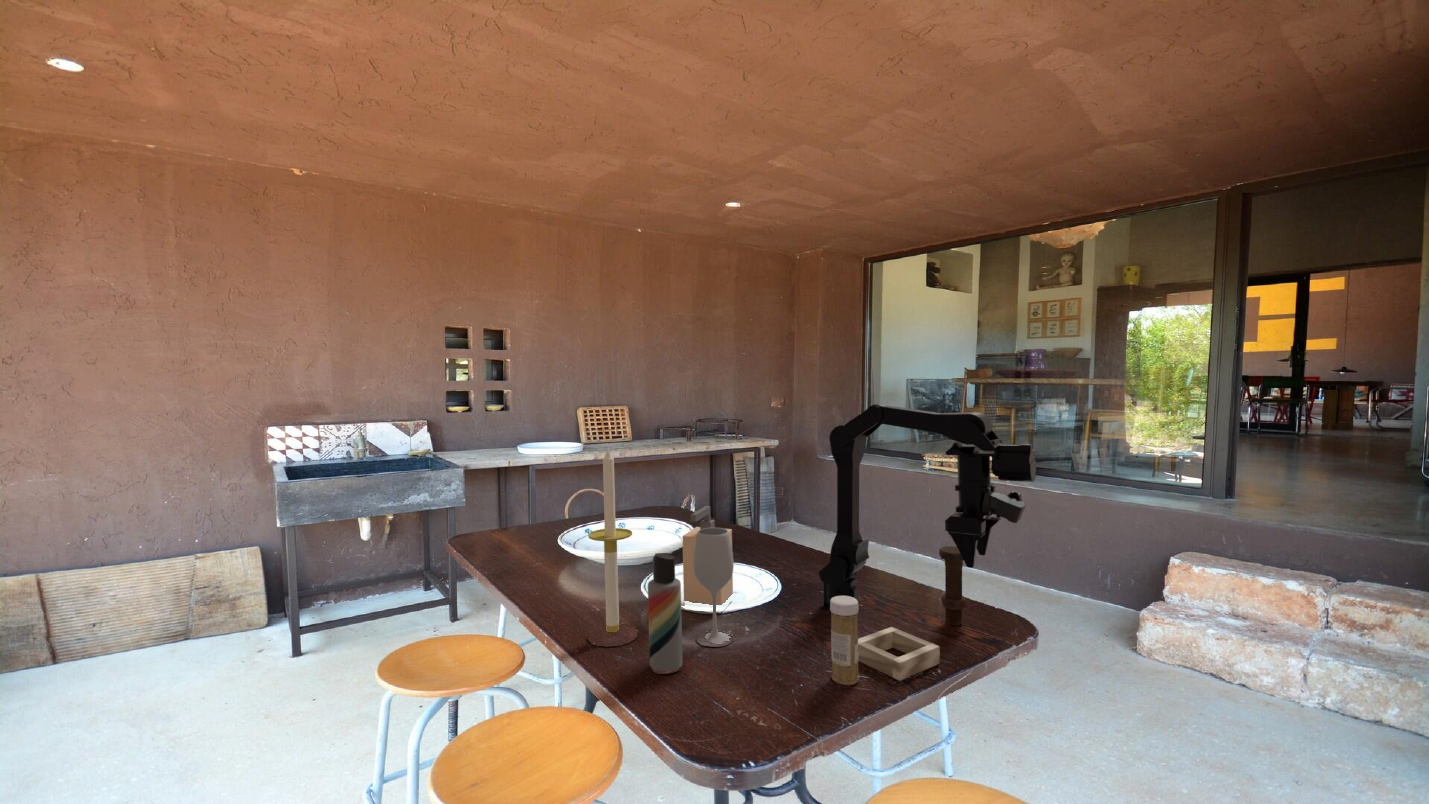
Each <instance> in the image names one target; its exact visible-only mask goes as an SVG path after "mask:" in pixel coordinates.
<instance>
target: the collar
mask: <svg viewBox="0 0 1429 804" xmlns="http://www.w3.org/2000/svg"><path fill="white" fill-rule="evenodd" d="M892 648H893V649H894V650H895V649H896V650H897V651H900V652H902V653H904V654H903V655H901V656H896V655H894V654H893V653H890V652H888V651H887V650H889V649H892ZM940 648H941V647H940V645H938V644H935V643H933V642H930V641H927V640H925V639H922V638H921V637H917V636H914V635H913V634H911V633H908V632H905V631H903V630H900V629H898V628H896V627H893V626H890V627H887V628H884V629H881V630H880V631H876V632H873V633H870V634H868V635H865V636H862V637H860V638H859V637H858V662H860V663H863V664H864V665H867V666H869V667H870V668H873V669H875V670H877V671H878V672H881V673H883V674H885V675H886V676H888V677H891V678H893V679H895V680H897V681H899V682H900V681H903V680H906V679H907V678H910V677H912V676H914V675H917V674H919V673H922V672H923V671H926V670H927V669H930V668H932V667H935V666H937V665H939V664H940V660H941V658H940V657H941V655H940V652H941V649H940Z"/></svg>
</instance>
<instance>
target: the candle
mask: <svg viewBox="0 0 1429 804" xmlns="http://www.w3.org/2000/svg"><path fill="white" fill-rule="evenodd" d="M602 474H603V475H602V479H603V483H602V484H603V509H604V510H603V511H604V512H603V514H604V515H603V517H604V518H603V519H604V521H603V522H604V528H601V529H596V530H593V531H590V532H589V533H588V535H587V536H588V539H590V540H592V541H595V542H596V541H597V542H603V552H604V553H603V554H604V556H603V557H604V560H603V561H604V595H605V626H606V631H607V632H617V631H618V630H619V625H620V613H619V612H620V611H619V609H620V608H619V607H620V606H619V605H620V604H619V575H618V574H619V572H618V568H619V567H618V564H619V563H618V541H621V540H625V539H628V538H630V537H631V536H632V535H633V532H632V530H631V529H628V528H627V529H626V528H622V527H619V528H618V527H616V526H617V525H616V497H615V496H616V494H615V492H616V491H615V490H616V489H615V485H616V484H615V459H614V457H613V456H612V454H611V451H610V448H606V453H605V455H604V457H603V458H602Z"/></svg>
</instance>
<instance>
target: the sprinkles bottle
mask: <svg viewBox="0 0 1429 804" xmlns="http://www.w3.org/2000/svg"><path fill="white" fill-rule="evenodd" d="M858 602H859V600H858V601H857V599H855V598H853V597H850V596H836V597H833V598H831V600H830V610H829V611H830V614H831V616H830V618H831V619H830V623H831V624H830V626H831V629H830V638H831V639H830V645H831V647H830V649H831V652H830V653H831V655H830V656H831V670H832V671H831V679H832V680H833V682H835V683H836V684H838V685H844V686H851V685H855V684H857V683H859V681H860V675H859V661H858V639H859V635H858V615H859V605H858Z"/></svg>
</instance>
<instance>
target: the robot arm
mask: <svg viewBox="0 0 1429 804" xmlns="http://www.w3.org/2000/svg"><path fill="white" fill-rule="evenodd" d="M882 425H886V426H893V427H899V428H905V429H910V430H911V429H912V430H916V431H917V430H918V431H923V432H930V433H935V434H938V435H940V436H943V437H945V438H946V439H949V440H951V441H955V442H954V443H953V444H952V445H951V446H950V448H948V450H946V451H945V455H946V456H956V457H957V458H956V459H957V461H956V463H957V484H955V485H954V489H955V492H957V493H958V505H957V506H955V512H954V513H952V514H951V515H949V517H947V519H945V520H944V527H945V532H947V533H948V535H950V537H951V539H952V540H953V542H954V544H955V547H957V548H958V550H959V552H960V554H961V556H962V558H963V563H964V564H965V565H966V566H965V567H967V568H972V569H973V568H974V566H975V560H976V555H977V553H978V555H980V556H985V555H986V554H987V549H988V546H989V541H990V537H991V531H992V528H993V527H994V526H995V525H996V524H997V523H999V522H1000V520H1001V518H1003V519H1005V520H1007V522H1010V523H1012V524H1017V523H1018V522H1019V521H1020V520H1021V518H1022V516H1023V512H1024V510H1025V509H1026V505H1027V504H1026V501H1023V499H1022V494H1021V493H1020V492H1018V491H1016V490H1012V491H1011V492H1010V493H1008V494H1007V495H1006V494H1005V493H999V492H998V491H996V486H995V484H994V483H993V482H991V479H992V478H991V477H992V476H991V472H992V475H994V477H997V479H998V480H999V481H1003V482H1004V481H1007V482H1025V483H1034V482H1035V481H1036V480H1035V479H1036V474H1037V461H1036V460H1035V453H1034V450H1033V444H1032V443H1022V444H1005V443H1004V442H1003V441H1002V440H1001V438H1000V437H999V436H998V435H997V434H996V433H995V431H994V430H993V428H992V427H993V426H992V422H991V419H990V418H989V417H988V416H987V415H986V414H985V413H982V412H978V411H973V412H972V411H971V412H970V411H968V412H966V411H965V412H961V411H960V412H946V413H945V412H942V413H941V412H935V411H928V410H923V409H922V410H921V409H915V408H908V407H907V408H906V407H900V406H893V405H888V404H885V403H877V404H876V403H875V404H874V403H873V404H872V405H869V407H867V408H866V409H865V410H863V412H861V413H860V414H858V415H857V416H855V417H854V418H852V419H851V420H849V421H848V422H846V423H845V424H840V425H837V426H835V427H834V428H833V429H832V430H831V431H830V433H829V439H828V440H829V447H830V451H831V455H832V458H833V460H834V463H835V465H836V534H835V536H834V540H833V542H832V544H831V548H830V551H829V552H830V553H829V559H828V563H827V564H826V565H825V566H824V567H822V568H821V570H820V569H819V571H818V575H819V578H820V579H819V580H820V581H821V582H822V583H823V586H822V587H823V589H822V591H823V602H822V603H821V604H820V605H819V606H820V609H825V610H829V611H830V600H831V598H833V597H836V596H850V597H853V598H855V599H857V601H858V606H859V605H860V604H859V585H857V584H856V583H857V581H856V580H857V579H856V577H855V576H857V575H858V574H859V571H860V570H861V569H862V568H863V567H864V566H865V565H866V563H867V560H868V559H870V554H869V546H870V545H869V544H870V542H869V539H863V537H862V535H861V533H860V465H861V463H862V460H863V457H864V454H865V452H866V451H865V450H866V447H867V446H866V445H867V440H868V437H869V436H871V435H872V434H874V433H875V432H876V431H877V430H878V429H879V428H880V427H881V426H882ZM962 444H964V445H962ZM969 445H970V446H969ZM972 445H973V446H972ZM980 450H981V451H980ZM994 515H996V516H994Z"/></svg>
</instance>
